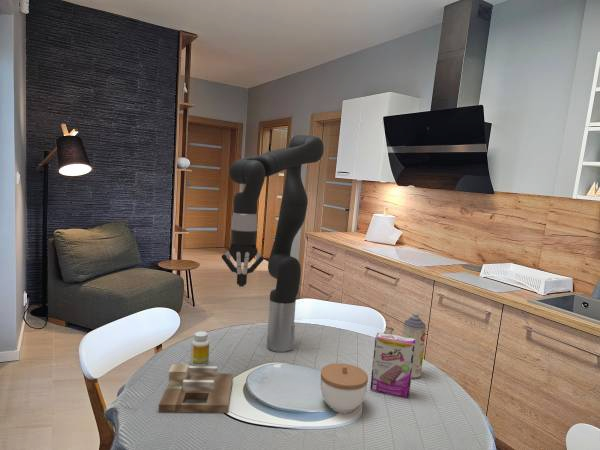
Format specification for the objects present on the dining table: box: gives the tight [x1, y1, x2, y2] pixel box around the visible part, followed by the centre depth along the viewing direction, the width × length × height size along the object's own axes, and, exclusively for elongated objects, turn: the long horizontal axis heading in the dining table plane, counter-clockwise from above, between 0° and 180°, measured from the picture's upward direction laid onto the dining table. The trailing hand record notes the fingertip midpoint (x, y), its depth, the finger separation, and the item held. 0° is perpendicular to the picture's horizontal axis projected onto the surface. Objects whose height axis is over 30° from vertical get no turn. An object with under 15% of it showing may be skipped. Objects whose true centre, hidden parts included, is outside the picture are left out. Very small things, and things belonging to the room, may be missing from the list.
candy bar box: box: [369, 331, 416, 399], centre depth 120 cm, size 11×5×16 cm, turn 71°
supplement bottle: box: [190, 331, 210, 366], centre depth 130 cm, size 5×5×10 cm
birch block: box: [167, 363, 190, 386], centre depth 114 cm, size 4×4×4 cm
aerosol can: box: [402, 312, 427, 380], centre depth 131 cm, size 7×7×20 cm
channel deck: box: [158, 365, 234, 414], centre depth 111 cm, size 17×17×4 cm
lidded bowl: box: [320, 362, 369, 414], centre depth 110 cm, size 13×13×11 cm
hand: (241, 285), depth 123 cm, fingers closed
